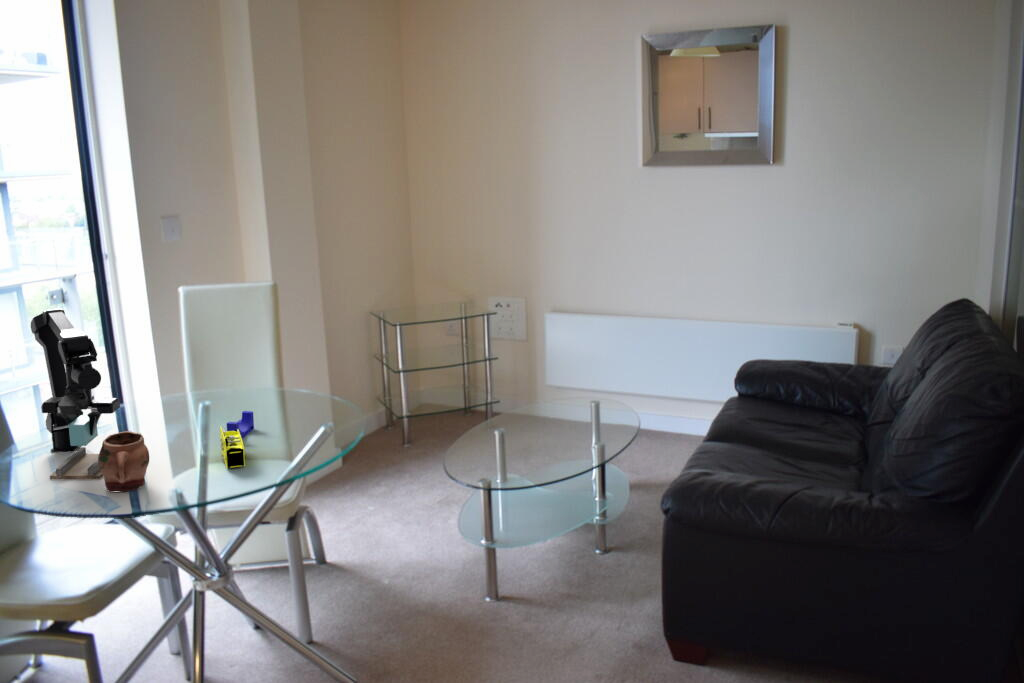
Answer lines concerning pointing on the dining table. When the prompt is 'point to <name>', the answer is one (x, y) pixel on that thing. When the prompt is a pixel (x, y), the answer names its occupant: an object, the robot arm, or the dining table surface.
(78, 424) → the teal rectangular block
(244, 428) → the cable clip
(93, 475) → the rail board
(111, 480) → the decorative planter
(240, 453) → the yellow toy chassis
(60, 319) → the robot arm
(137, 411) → the dining table surface
